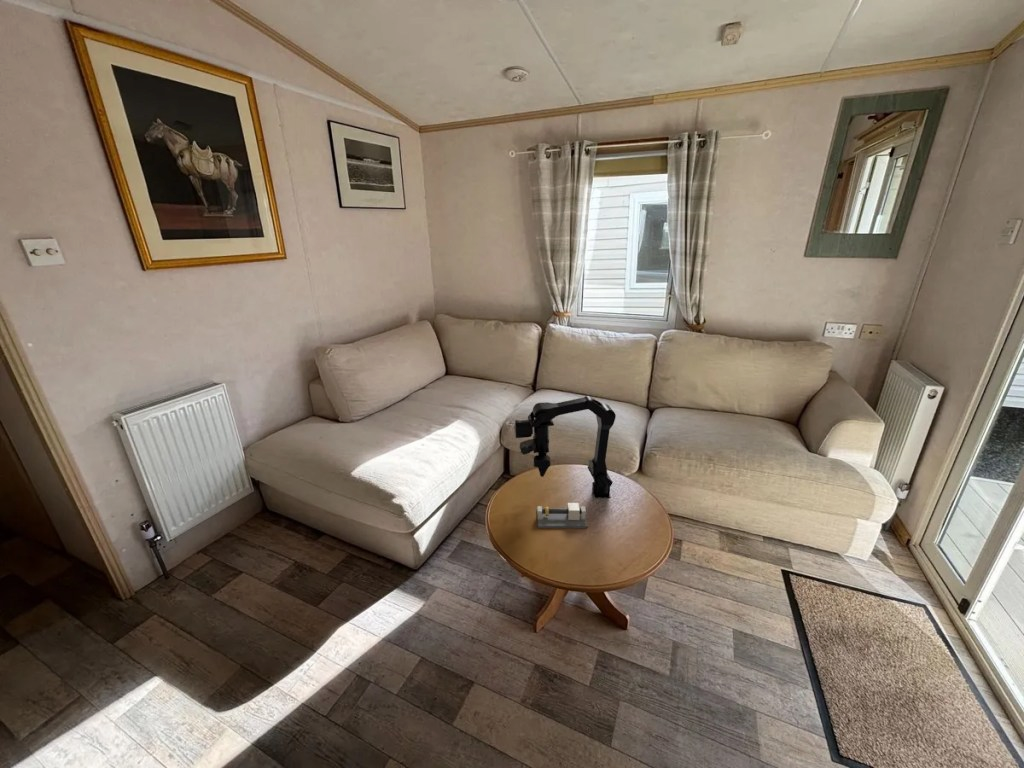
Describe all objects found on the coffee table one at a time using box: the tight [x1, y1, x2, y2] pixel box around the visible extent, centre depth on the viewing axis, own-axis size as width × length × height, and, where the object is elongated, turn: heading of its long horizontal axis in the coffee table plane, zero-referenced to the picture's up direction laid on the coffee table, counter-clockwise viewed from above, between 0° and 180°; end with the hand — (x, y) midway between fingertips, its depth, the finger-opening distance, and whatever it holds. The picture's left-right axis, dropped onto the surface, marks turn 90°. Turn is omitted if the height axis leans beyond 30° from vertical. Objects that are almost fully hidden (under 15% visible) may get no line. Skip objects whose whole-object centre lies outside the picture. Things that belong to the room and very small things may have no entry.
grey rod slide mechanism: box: [536, 505, 588, 529], centre depth 150 cm, size 18×10×5 cm, turn 88°
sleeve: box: [567, 502, 580, 520], centre depth 150 cm, size 4×4×4 cm
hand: (541, 469), depth 159 cm, fingers open, 9 cm apart
